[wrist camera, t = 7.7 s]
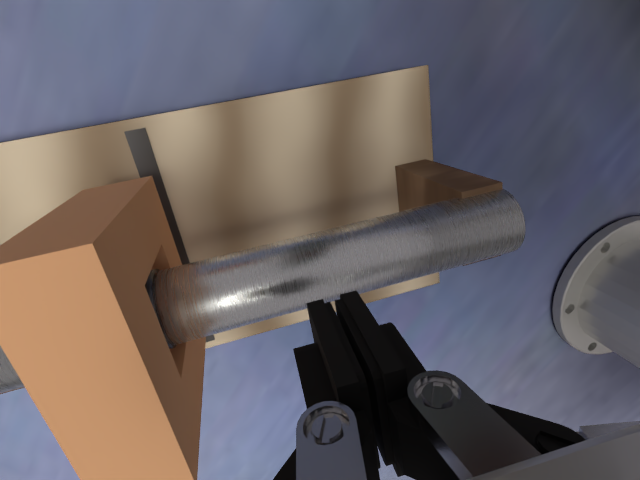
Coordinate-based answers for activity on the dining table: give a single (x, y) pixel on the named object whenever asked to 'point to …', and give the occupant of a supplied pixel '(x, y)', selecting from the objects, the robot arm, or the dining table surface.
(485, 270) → the dining table surface
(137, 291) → the collar
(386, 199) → the pipe stand
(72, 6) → the dining table surface
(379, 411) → the robot arm
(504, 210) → the pipe
